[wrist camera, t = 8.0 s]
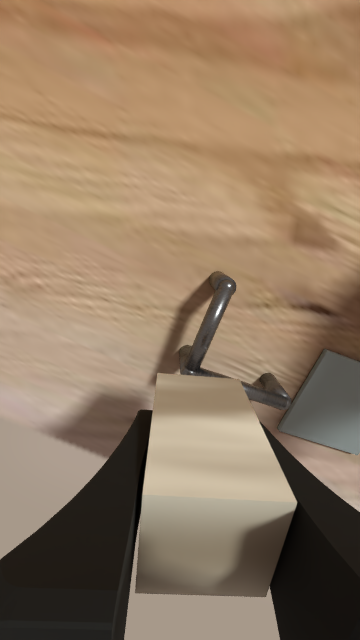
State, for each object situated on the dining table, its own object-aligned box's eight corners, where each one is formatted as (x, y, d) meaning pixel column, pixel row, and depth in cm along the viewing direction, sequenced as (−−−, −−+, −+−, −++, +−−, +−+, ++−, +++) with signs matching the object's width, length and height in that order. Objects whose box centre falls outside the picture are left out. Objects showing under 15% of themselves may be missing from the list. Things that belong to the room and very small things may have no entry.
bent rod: (213, 268, 17) (222, 275, 14) (314, 308, 18) (347, 323, 15) (177, 356, 19) (177, 381, 16) (270, 387, 20) (290, 417, 17)
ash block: (157, 372, 12) (142, 494, 6) (239, 379, 12) (297, 502, 6) (152, 439, 13) (135, 593, 7) (226, 444, 13) (265, 597, 8)
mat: (324, 348, 19) (327, 350, 19) (408, 379, 20) (412, 381, 20) (277, 427, 22) (279, 431, 21) (354, 451, 23) (357, 455, 22)
